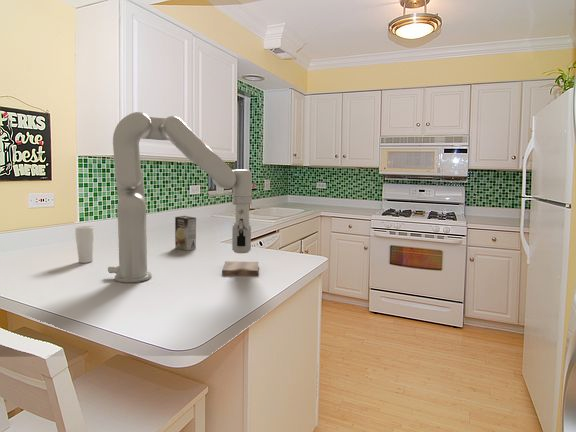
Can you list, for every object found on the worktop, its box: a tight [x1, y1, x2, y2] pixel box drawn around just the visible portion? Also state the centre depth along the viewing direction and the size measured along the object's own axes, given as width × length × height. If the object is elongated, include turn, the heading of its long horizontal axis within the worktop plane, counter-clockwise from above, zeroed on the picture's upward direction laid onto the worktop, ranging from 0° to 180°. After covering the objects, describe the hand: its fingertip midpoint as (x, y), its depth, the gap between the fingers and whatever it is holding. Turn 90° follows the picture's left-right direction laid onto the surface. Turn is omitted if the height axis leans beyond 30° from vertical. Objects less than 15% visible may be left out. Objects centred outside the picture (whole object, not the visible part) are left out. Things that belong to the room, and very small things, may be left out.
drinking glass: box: [75, 225, 95, 264], centre depth 162 cm, size 7×7×15 cm
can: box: [231, 221, 252, 254], centre depth 156 cm, size 8×8×12 cm
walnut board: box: [221, 260, 259, 277], centre depth 157 cm, size 14×14×2 cm
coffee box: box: [174, 215, 197, 251], centre depth 195 cm, size 9×6×16 cm
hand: (241, 243), depth 156 cm, fingers closed on can, 7 cm apart
